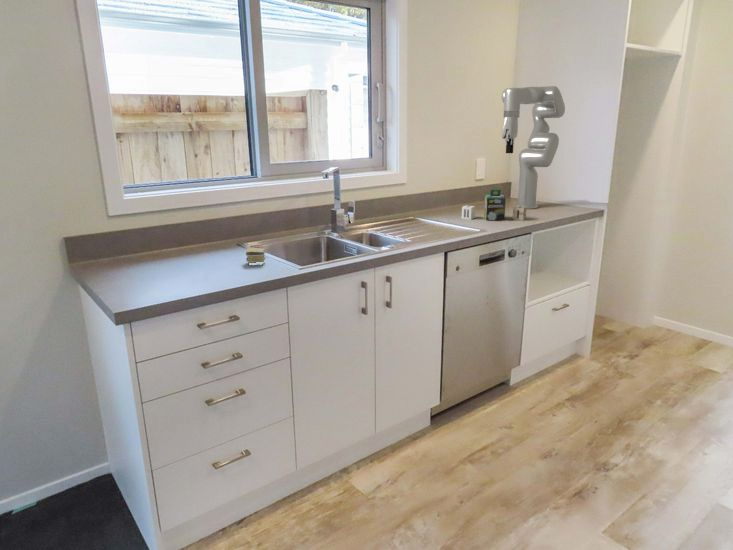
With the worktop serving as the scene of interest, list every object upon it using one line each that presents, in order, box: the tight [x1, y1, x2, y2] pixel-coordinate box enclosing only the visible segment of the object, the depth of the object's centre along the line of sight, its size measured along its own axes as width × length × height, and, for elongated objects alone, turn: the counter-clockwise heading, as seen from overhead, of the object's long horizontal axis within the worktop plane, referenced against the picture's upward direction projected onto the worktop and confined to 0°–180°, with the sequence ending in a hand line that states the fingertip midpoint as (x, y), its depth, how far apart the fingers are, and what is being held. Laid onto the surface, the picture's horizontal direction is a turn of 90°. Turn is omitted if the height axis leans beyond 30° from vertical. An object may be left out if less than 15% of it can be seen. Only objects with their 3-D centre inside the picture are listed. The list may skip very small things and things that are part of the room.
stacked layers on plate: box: [245, 247, 267, 264], centre depth 184 cm, size 10×9×6 cm
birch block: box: [512, 206, 528, 222], centre depth 254 cm, size 5×5×6 cm
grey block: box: [461, 205, 476, 220], centre depth 258 cm, size 5×5×6 cm
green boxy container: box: [483, 188, 507, 222], centre depth 254 cm, size 9×9×15 cm
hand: (509, 153), depth 259 cm, fingers closed
